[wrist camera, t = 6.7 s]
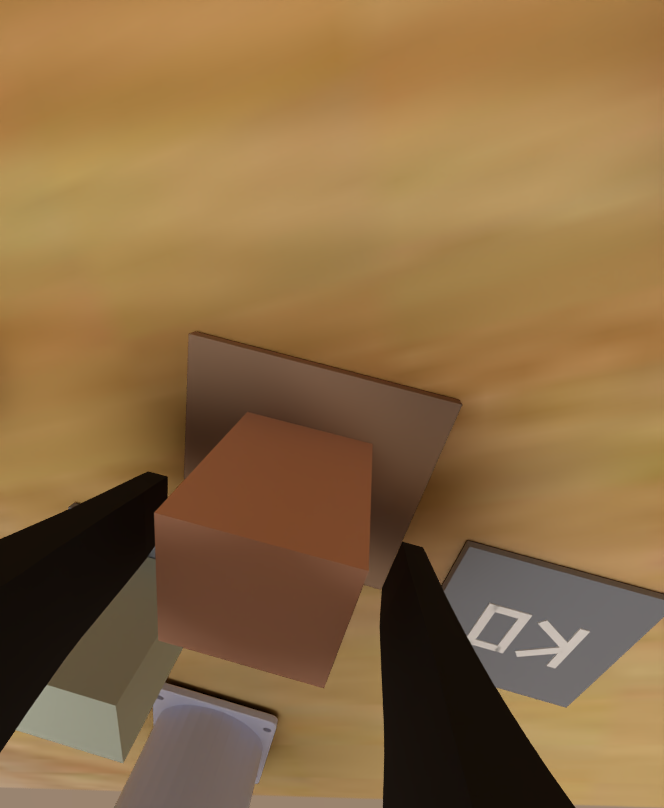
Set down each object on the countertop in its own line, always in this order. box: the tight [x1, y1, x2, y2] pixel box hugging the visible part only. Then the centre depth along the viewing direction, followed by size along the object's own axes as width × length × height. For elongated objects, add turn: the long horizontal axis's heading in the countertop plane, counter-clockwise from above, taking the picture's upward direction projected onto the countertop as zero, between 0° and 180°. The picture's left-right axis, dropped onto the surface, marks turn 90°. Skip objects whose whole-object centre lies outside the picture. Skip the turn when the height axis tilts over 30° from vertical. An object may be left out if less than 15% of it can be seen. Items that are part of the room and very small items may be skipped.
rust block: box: [154, 412, 373, 688], centre depth 10 cm, size 4×4×5 cm
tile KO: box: [442, 540, 664, 707], centre depth 14 cm, size 8×8×1 cm
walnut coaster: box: [184, 332, 462, 589], centre depth 12 cm, size 9×9×1 cm
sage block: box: [16, 557, 183, 763], centre depth 13 cm, size 4×4×5 cm
